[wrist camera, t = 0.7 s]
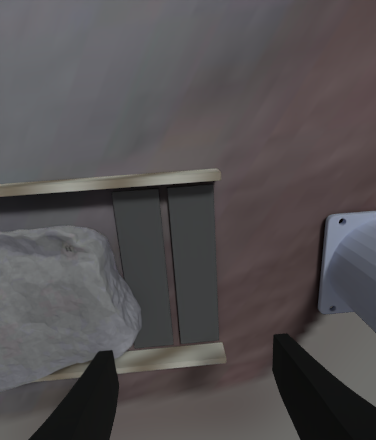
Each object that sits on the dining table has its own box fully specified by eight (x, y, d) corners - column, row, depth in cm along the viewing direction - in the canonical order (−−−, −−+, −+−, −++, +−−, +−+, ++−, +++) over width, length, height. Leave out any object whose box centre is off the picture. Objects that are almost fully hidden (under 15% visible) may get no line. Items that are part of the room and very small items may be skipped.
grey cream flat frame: (216, 168, 18) (220, 171, 17) (222, 347, 23) (226, 363, 21) (-163, 196, 17) (-195, 202, 16) (-80, 376, 22) (-99, 395, 20)
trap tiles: (212, 183, 19) (213, 184, 18) (218, 337, 22) (218, 340, 22) (112, 191, 18) (111, 192, 18) (135, 345, 22) (134, 348, 22)
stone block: (-46, 245, 21) (3, 367, 22) (-116, 262, 16) (-48, 418, 17) (108, 197, 20) (150, 323, 21) (84, 200, 16) (140, 362, 17)
